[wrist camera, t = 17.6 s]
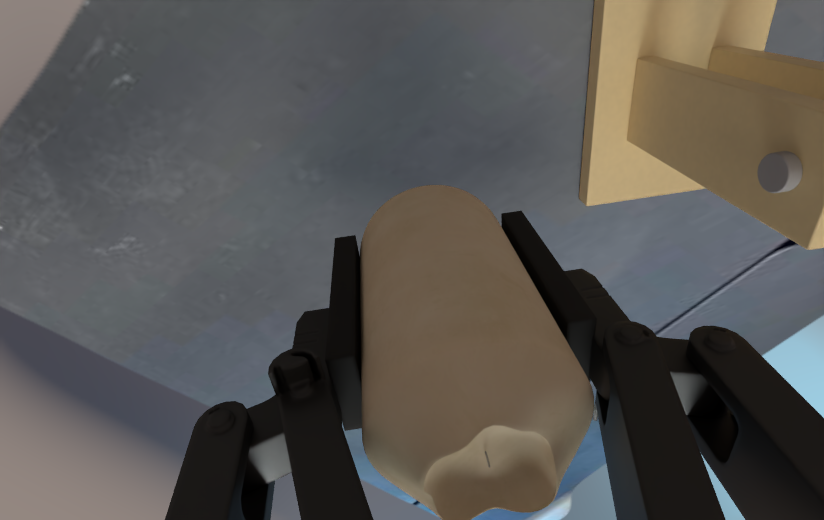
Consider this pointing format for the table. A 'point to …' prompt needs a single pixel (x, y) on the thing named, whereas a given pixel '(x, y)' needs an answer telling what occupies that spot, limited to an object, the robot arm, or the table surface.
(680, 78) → the bracket
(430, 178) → the table surface
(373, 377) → the candle
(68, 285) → the table surface
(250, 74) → the table surface
